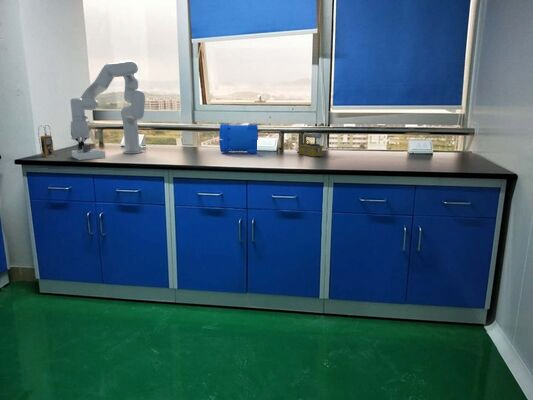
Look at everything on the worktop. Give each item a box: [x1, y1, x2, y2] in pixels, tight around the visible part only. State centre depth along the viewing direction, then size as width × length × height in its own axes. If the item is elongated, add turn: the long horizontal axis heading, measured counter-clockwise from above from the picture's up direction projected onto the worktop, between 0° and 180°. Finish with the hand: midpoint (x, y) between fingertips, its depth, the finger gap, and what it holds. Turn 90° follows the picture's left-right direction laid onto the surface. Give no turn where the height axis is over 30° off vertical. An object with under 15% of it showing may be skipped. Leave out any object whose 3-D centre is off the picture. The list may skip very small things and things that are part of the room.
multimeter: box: [37, 125, 59, 159], centre depth 285 cm, size 15×10×20 cm
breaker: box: [82, 145, 88, 152], centre depth 275 cm, size 2×2×4 cm
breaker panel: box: [71, 148, 106, 161], centre depth 283 cm, size 16×16×4 cm
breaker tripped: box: [84, 143, 91, 151], centre depth 282 cm, size 2×2×4 cm
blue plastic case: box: [218, 123, 259, 154], centre depth 307 cm, size 25×22×19 cm
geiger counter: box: [295, 132, 325, 158], centre depth 298 cm, size 9×26×15 cm, turn 33°
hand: (81, 148), depth 280 cm, fingers closed
